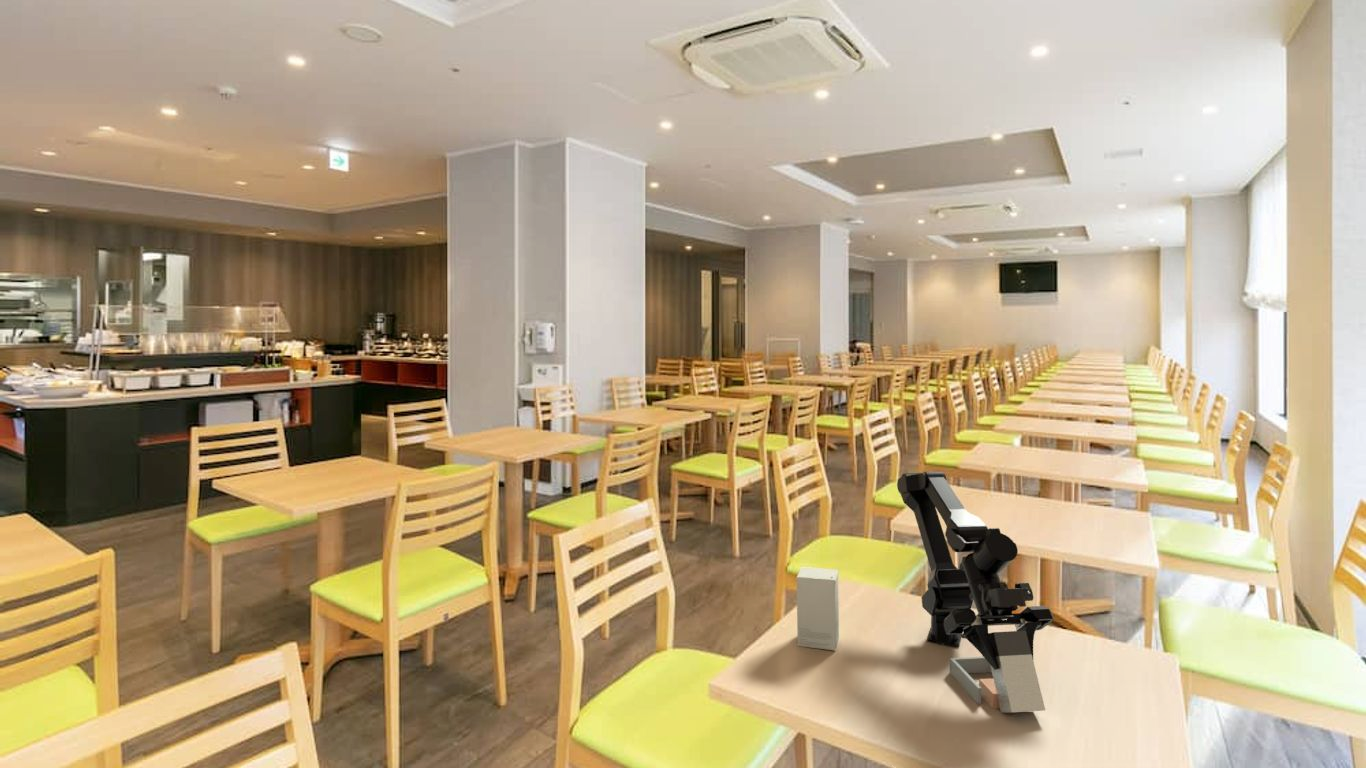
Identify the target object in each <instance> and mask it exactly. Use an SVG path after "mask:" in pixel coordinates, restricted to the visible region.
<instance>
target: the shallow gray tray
mask: <svg viewBox="0 0 1366 768" xmlns="http://www.w3.org/2000/svg"><path fill="white" fill-rule="evenodd" d="M980 673H982V674H983V673H992V670H991V666H990V664H989V662H988V661H987V660H986V659H985V658H984V656H983V655H982V656H965V657H964V656H963V657H949V674H950V675H951V676H952V678H953V679H954V680H955V681H956V682H957V683H958V684H959V685H960V686H961V688H962V689H963V690H965V692H966V693H967V694H968V695H969V696H970V697H971V698H972V699H973V700H974V702H975V703H976V704H978V705H980V704H982V696H981V689H982V688H981V687H980V686H979V683H977V681H975V679H973V677H972V676H971V675H970V674H980Z"/></svg>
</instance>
